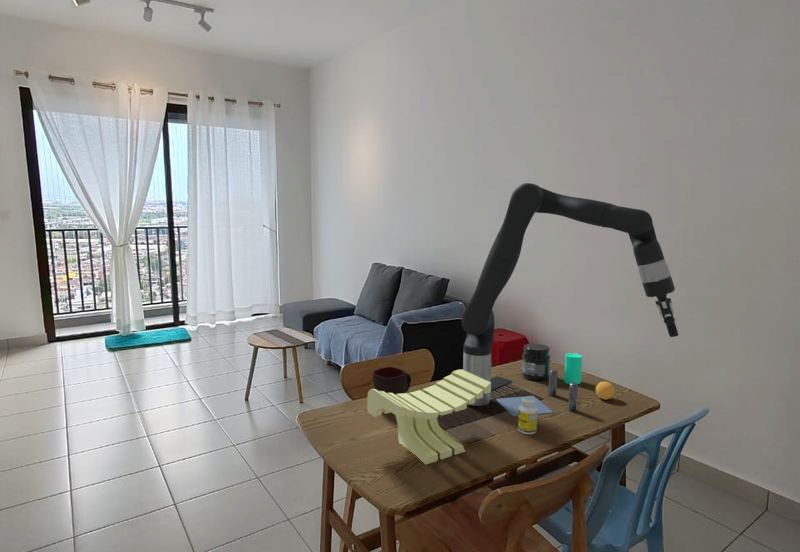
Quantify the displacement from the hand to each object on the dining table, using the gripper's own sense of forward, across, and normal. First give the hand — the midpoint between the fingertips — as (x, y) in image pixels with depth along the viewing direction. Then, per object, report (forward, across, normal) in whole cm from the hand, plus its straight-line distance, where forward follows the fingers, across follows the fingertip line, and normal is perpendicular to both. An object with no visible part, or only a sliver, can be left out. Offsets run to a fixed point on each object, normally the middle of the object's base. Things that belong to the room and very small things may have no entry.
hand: (673, 332), depth 138 cm
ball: (+20, -22, -25) cm, 39 cm away
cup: (+2, +15, -86) cm, 87 cm away
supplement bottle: (+17, +14, -45) cm, 50 cm away
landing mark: (+15, -4, -49) cm, 51 cm away
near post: (+20, -7, -35) cm, 41 cm away
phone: (+11, -19, -63) cm, 66 cm away
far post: (+17, -17, -42) cm, 49 cm away
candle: (+19, -34, -38) cm, 54 cm away
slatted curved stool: (+9, +35, -66) cm, 76 cm away
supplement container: (+15, -34, -50) cm, 62 cm away
